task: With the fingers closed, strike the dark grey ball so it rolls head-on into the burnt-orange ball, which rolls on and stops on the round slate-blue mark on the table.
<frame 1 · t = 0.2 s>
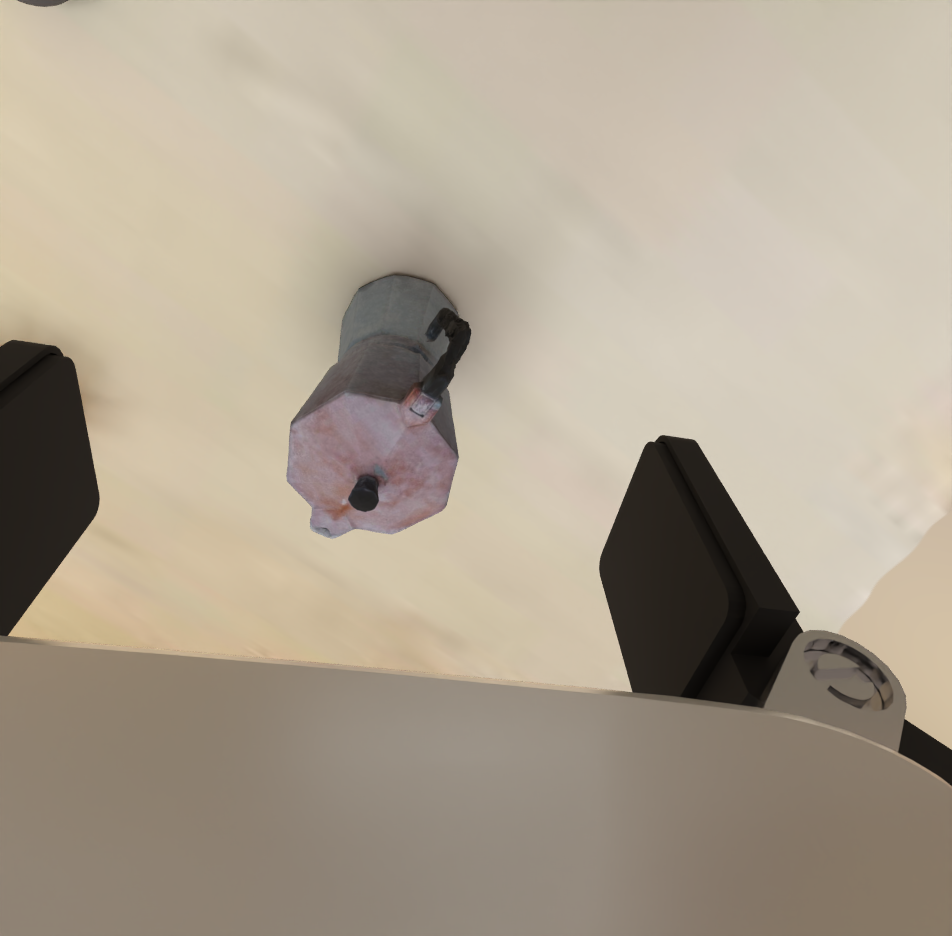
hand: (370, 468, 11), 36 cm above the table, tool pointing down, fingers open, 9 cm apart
moka pot: (402, 325, 47), on the table
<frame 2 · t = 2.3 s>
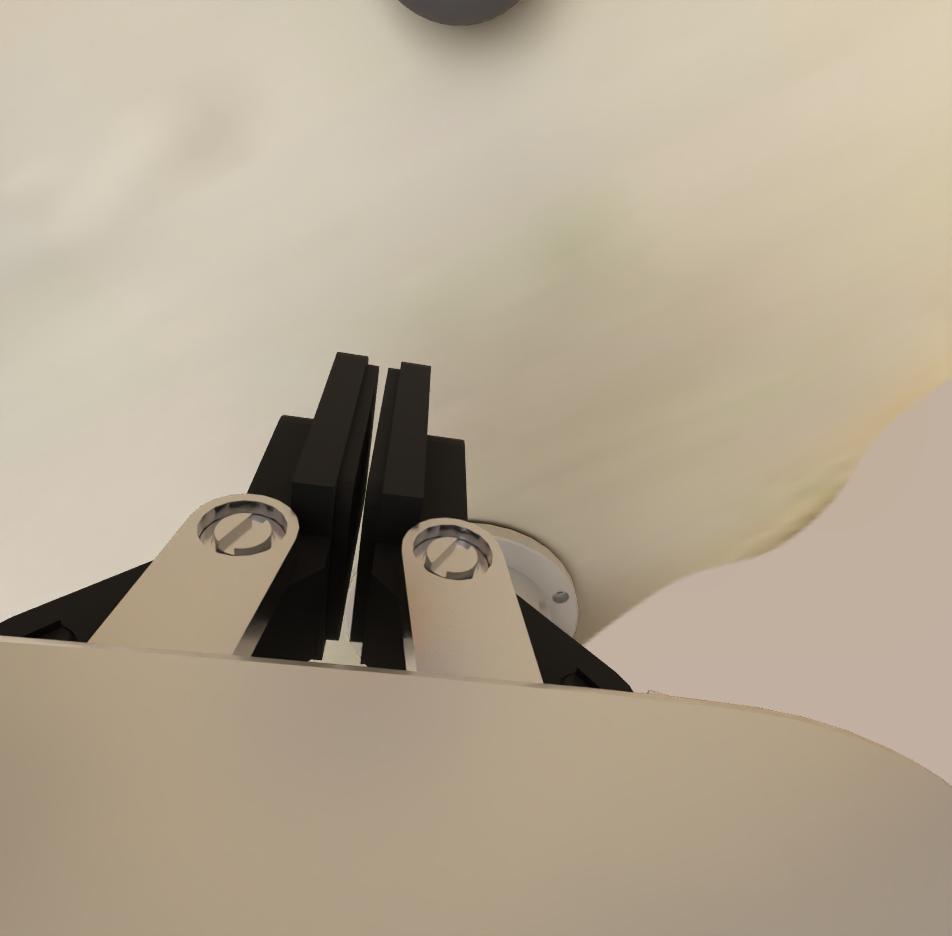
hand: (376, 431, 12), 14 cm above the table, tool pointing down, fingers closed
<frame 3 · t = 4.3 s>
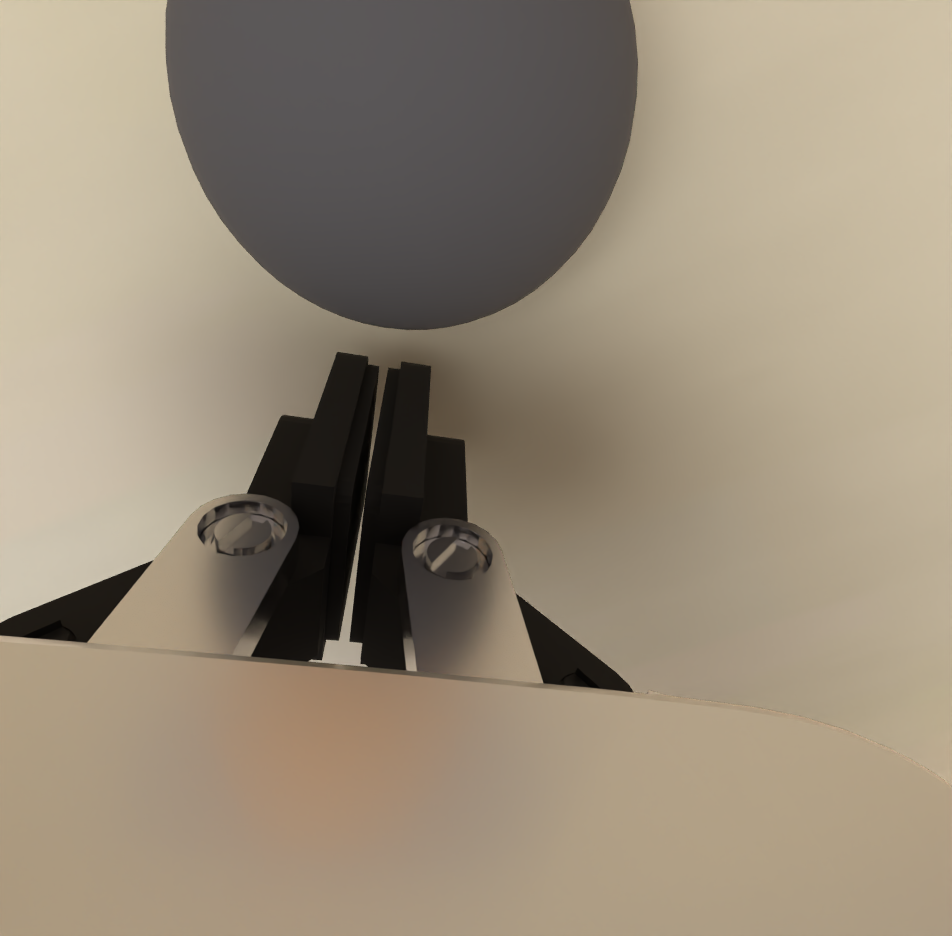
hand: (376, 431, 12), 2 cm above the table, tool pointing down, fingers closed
dark grey ball: (410, 104, 8), on the table
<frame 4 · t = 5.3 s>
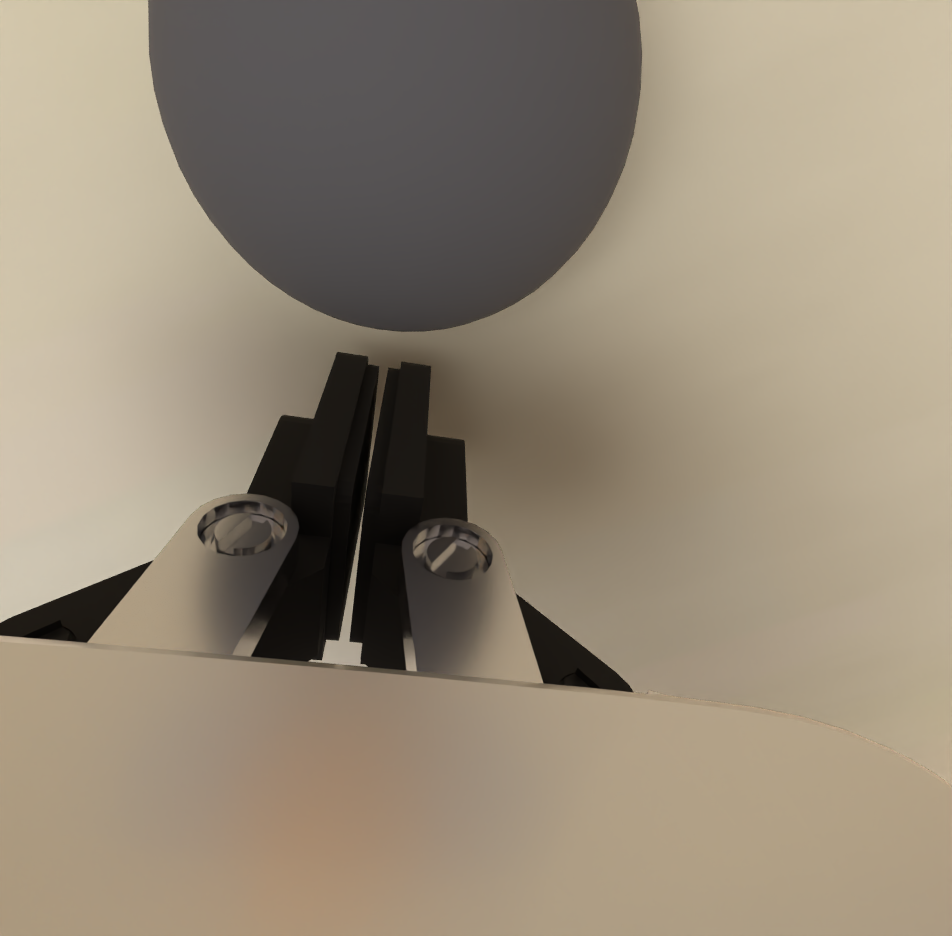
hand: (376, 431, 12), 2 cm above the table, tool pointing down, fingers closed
dark grey ball: (405, 97, 8), on the table
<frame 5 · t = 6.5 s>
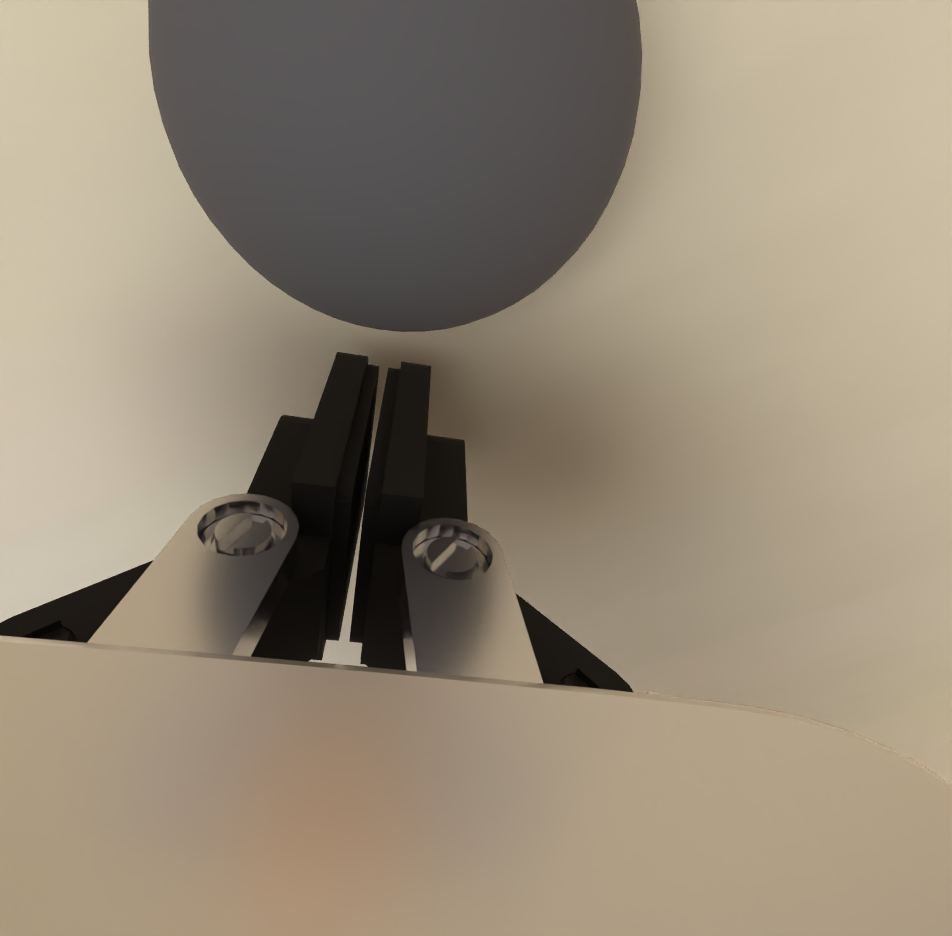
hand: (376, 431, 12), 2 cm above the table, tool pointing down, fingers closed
dark grey ball: (405, 97, 8), on the table
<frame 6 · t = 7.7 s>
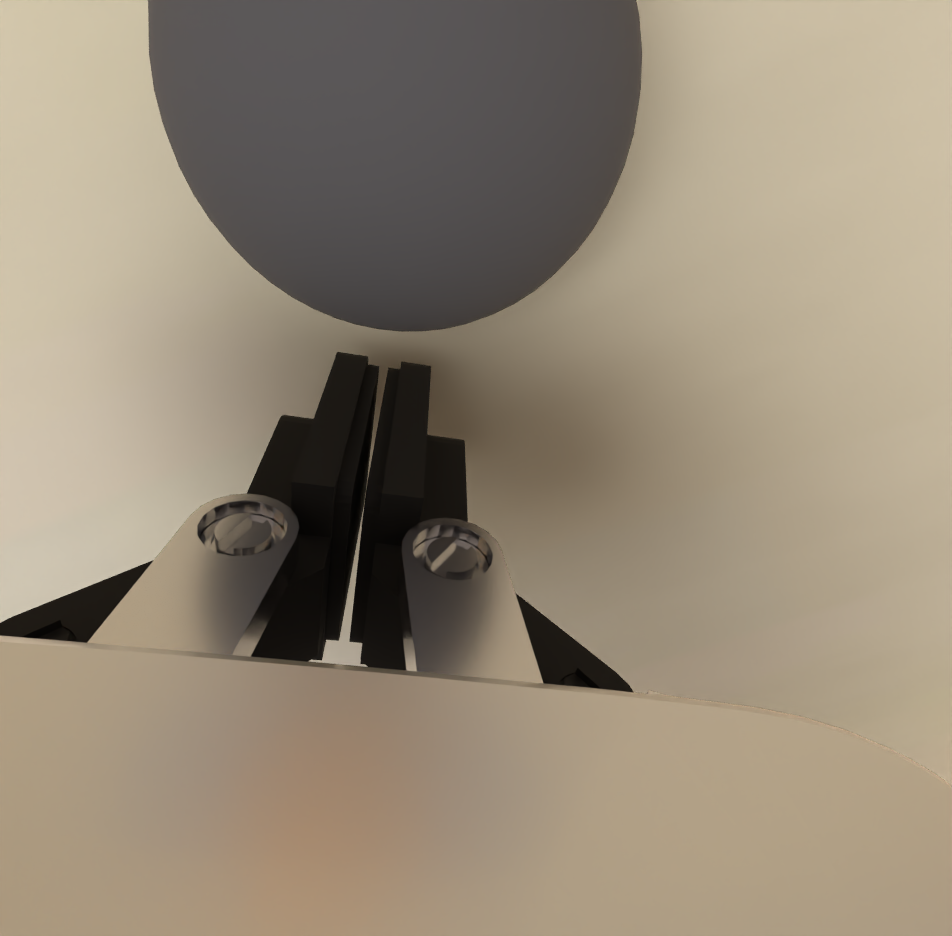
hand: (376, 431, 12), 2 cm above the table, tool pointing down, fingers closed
dark grey ball: (405, 97, 8), on the table
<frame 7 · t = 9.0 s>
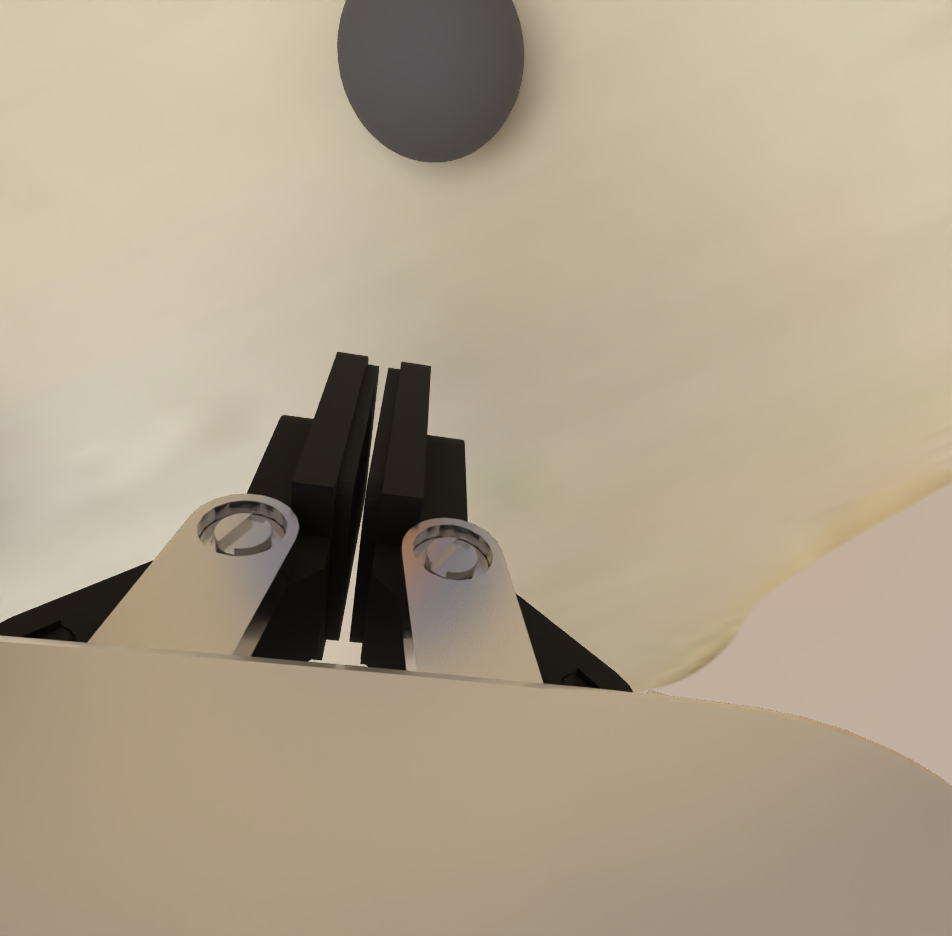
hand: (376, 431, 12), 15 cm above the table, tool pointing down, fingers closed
dark grey ball: (431, 60, 19), on the table
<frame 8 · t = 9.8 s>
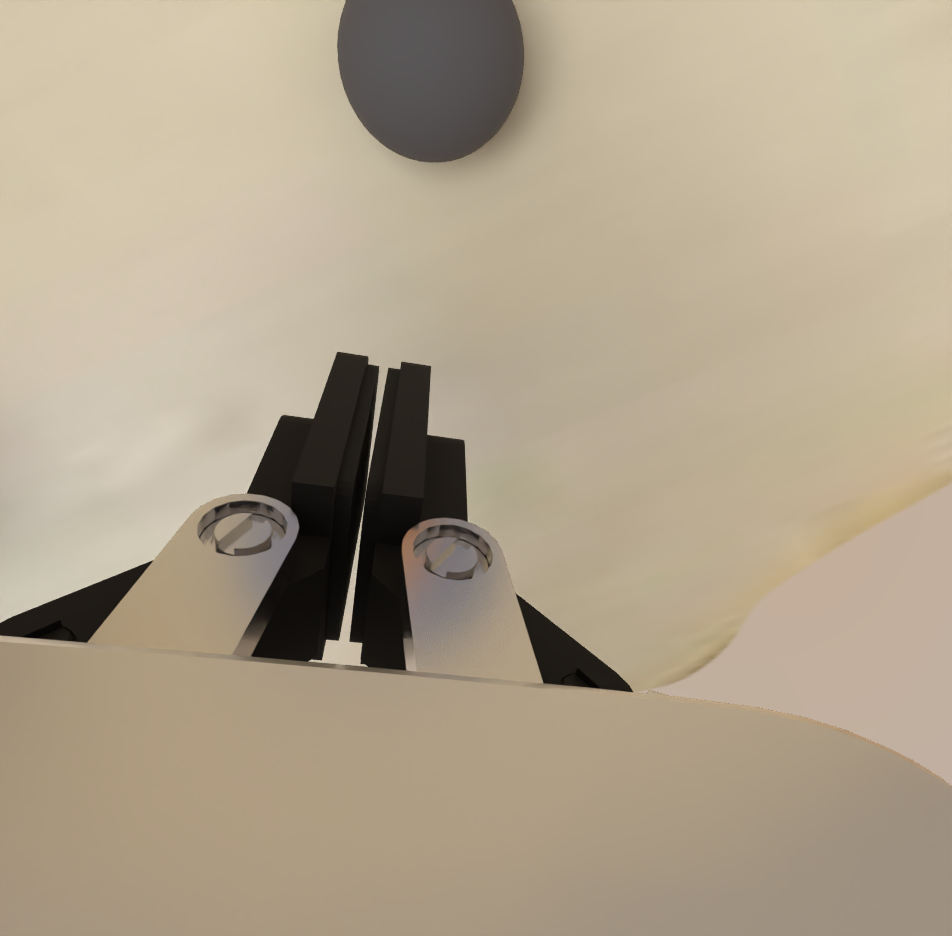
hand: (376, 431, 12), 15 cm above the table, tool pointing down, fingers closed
dark grey ball: (431, 60, 19), on the table
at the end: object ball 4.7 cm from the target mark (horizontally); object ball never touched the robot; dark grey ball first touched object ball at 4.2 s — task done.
